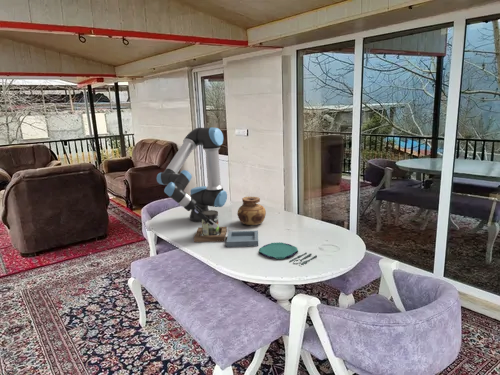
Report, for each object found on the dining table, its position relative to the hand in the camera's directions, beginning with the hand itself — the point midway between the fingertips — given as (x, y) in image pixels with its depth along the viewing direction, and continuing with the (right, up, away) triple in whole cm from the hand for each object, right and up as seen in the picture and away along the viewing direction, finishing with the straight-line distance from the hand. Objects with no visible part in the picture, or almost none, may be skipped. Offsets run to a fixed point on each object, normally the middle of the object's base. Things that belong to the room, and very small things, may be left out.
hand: (215, 224), depth 227 cm
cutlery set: (+40, -14, -30) cm, 52 cm away
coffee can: (-3, -6, +1) cm, 7 cm away
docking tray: (+17, -9, -8) cm, 21 cm away
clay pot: (+23, -2, +23) cm, 32 cm away
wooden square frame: (-3, -7, +1) cm, 8 cm away
